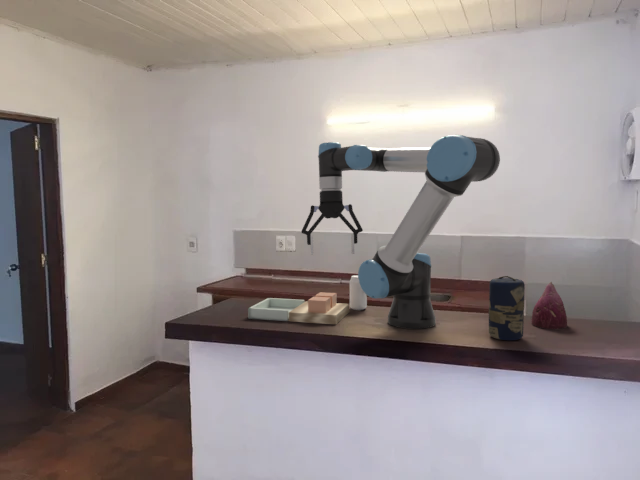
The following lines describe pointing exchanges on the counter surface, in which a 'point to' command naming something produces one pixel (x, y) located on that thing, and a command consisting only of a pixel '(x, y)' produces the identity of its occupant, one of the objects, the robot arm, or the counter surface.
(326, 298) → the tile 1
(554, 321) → the vegetable
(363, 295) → the beverage can
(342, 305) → the board
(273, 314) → the tray
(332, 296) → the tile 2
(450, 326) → the counter surface
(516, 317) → the canister
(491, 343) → the counter surface
